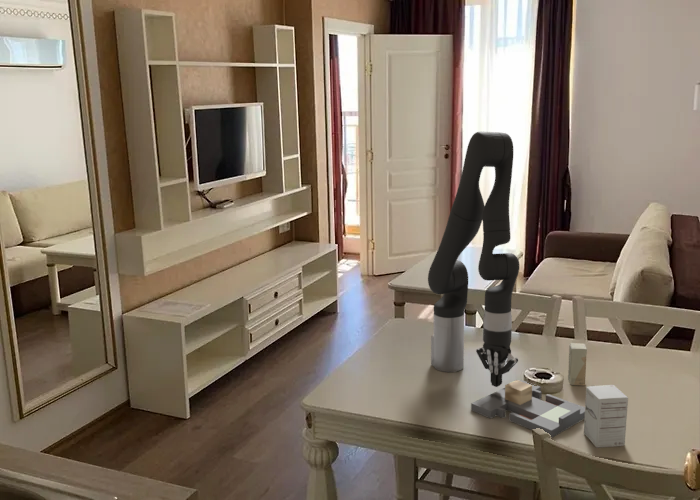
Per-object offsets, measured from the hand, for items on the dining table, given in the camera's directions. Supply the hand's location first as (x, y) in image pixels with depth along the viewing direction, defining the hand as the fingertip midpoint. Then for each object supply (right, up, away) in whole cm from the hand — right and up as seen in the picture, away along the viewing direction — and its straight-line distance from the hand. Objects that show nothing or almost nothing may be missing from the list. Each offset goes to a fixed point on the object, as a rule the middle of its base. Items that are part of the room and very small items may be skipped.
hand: (496, 385), depth 191 cm
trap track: (+8, -5, -8) cm, 12 cm away
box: (+25, -1, +9) cm, 27 cm away
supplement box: (+21, -9, -23) cm, 33 cm away
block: (+5, -3, -5) cm, 8 cm away
